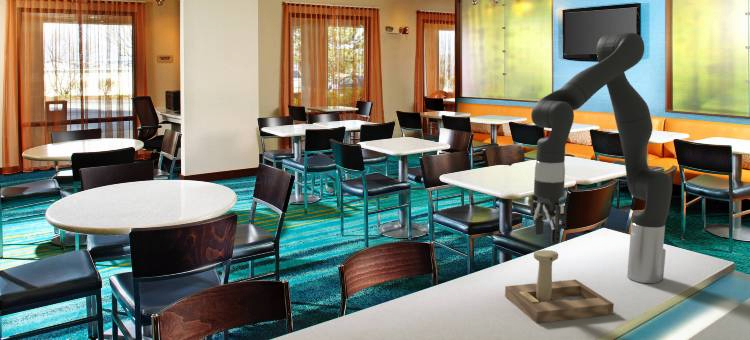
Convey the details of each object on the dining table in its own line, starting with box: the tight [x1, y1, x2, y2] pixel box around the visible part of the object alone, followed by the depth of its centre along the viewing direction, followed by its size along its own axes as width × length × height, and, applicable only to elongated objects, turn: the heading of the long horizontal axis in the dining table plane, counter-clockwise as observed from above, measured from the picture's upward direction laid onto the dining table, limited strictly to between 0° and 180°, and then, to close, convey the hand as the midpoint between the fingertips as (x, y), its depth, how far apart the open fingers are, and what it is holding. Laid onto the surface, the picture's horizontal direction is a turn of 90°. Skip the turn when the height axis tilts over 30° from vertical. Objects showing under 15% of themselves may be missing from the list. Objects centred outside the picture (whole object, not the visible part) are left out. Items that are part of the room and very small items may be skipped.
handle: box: [533, 249, 559, 302], centre depth 164 cm, size 5×6×15 cm
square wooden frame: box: [504, 279, 615, 324], centre depth 166 cm, size 22×18×3 cm
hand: (546, 238), depth 161 cm, fingers open, 8 cm apart
